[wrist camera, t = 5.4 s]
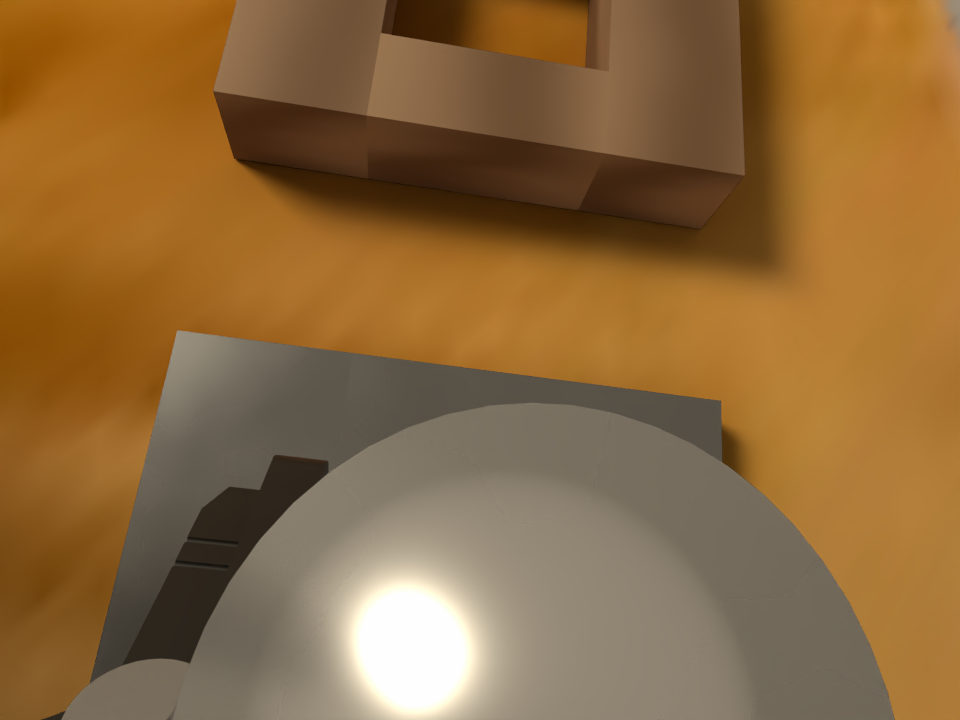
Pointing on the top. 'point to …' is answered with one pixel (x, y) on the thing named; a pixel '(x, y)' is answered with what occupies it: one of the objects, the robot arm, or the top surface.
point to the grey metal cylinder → (533, 588)
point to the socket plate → (310, 435)
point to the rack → (497, 106)
